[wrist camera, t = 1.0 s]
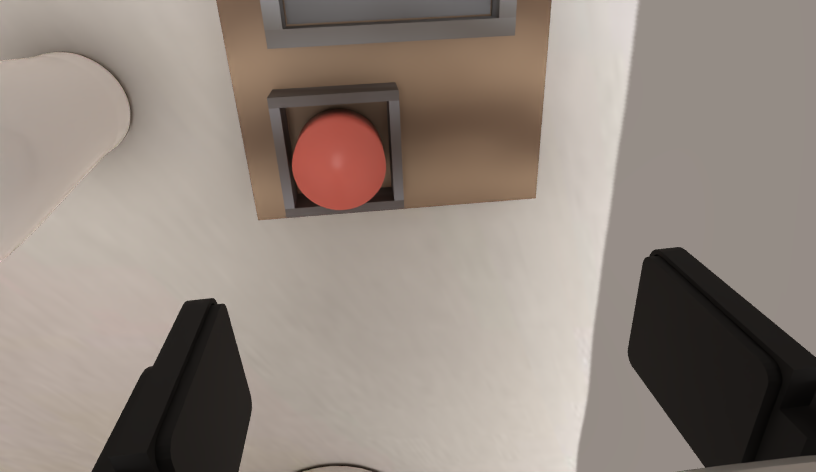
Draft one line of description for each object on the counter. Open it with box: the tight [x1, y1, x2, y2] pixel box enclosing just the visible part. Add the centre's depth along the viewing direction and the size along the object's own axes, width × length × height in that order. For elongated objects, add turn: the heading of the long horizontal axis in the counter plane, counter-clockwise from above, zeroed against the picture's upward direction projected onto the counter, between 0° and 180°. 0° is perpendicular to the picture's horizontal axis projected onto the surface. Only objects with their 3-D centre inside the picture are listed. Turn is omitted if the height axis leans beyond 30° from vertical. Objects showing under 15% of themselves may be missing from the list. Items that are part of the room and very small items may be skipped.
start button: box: [292, 109, 386, 210], centre depth 25 cm, size 4×4×2 cm
